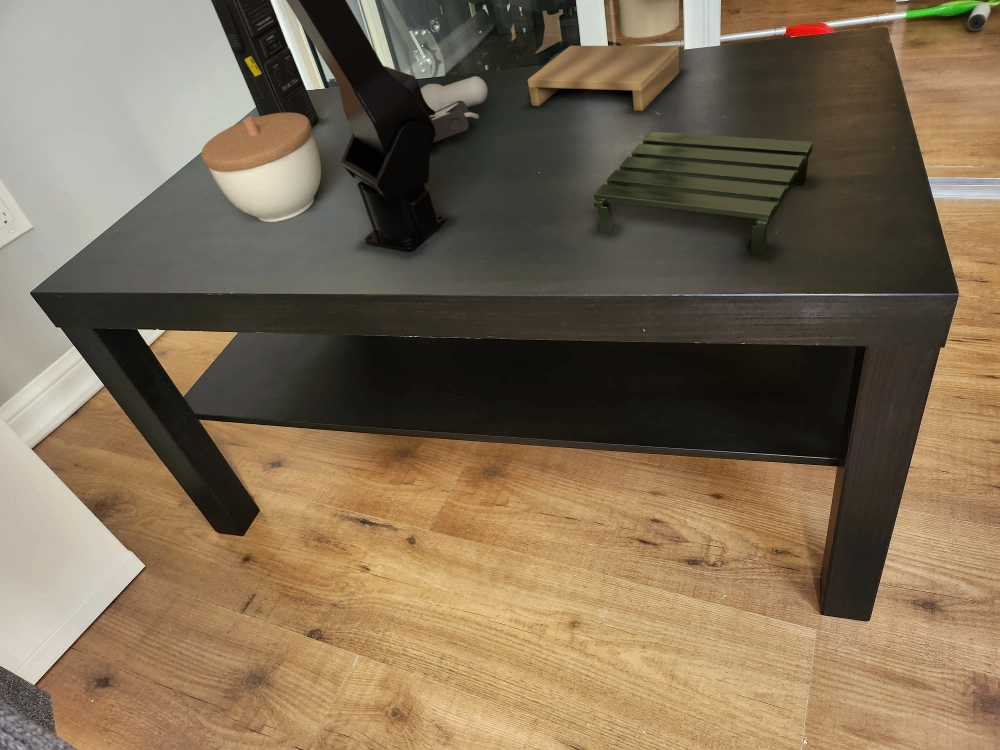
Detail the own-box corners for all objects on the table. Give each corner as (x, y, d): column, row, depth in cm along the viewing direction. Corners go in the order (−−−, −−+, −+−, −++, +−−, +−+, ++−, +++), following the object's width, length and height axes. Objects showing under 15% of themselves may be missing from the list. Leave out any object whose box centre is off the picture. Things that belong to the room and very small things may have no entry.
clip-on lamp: (361, 174, 96) (471, 143, 87) (335, 132, 92) (447, 96, 83) (396, 128, 103) (501, 95, 94) (372, 88, 99) (480, 49, 90)
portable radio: (295, 144, 101) (216, -53, 85) (261, 145, 103) (178, -46, 87) (322, 120, 106) (253, -70, 90) (290, 122, 108) (217, -63, 92)
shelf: (531, 105, 95) (527, 79, 93) (573, 70, 102) (570, 45, 99) (642, 111, 87) (640, 82, 85) (679, 72, 94) (678, 45, 91)
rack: (595, 233, 68) (591, 196, 65) (653, 165, 76) (652, 129, 73) (765, 258, 60) (767, 216, 57) (810, 179, 68) (814, 139, 65)
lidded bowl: (348, 206, 83) (314, 114, 76) (244, 247, 80) (199, 156, 73) (321, 171, 92) (289, 87, 85) (227, 207, 89) (186, 122, 82)
